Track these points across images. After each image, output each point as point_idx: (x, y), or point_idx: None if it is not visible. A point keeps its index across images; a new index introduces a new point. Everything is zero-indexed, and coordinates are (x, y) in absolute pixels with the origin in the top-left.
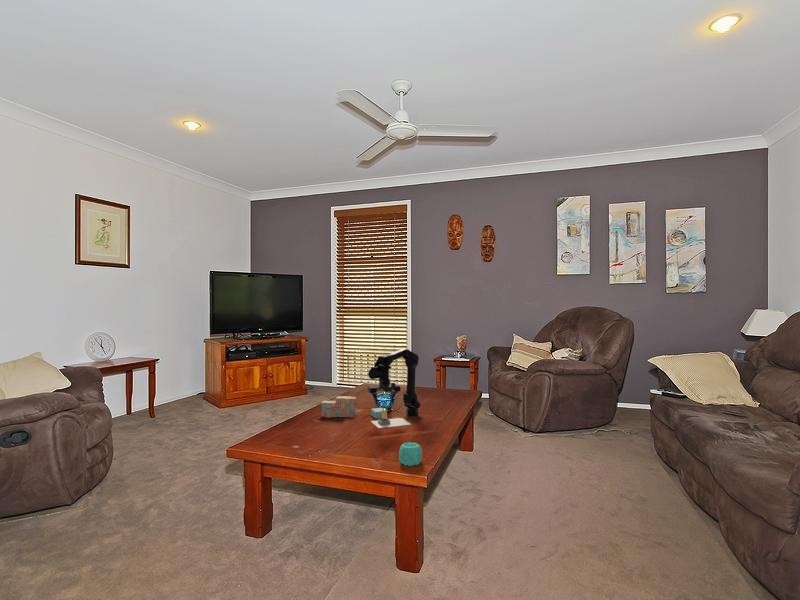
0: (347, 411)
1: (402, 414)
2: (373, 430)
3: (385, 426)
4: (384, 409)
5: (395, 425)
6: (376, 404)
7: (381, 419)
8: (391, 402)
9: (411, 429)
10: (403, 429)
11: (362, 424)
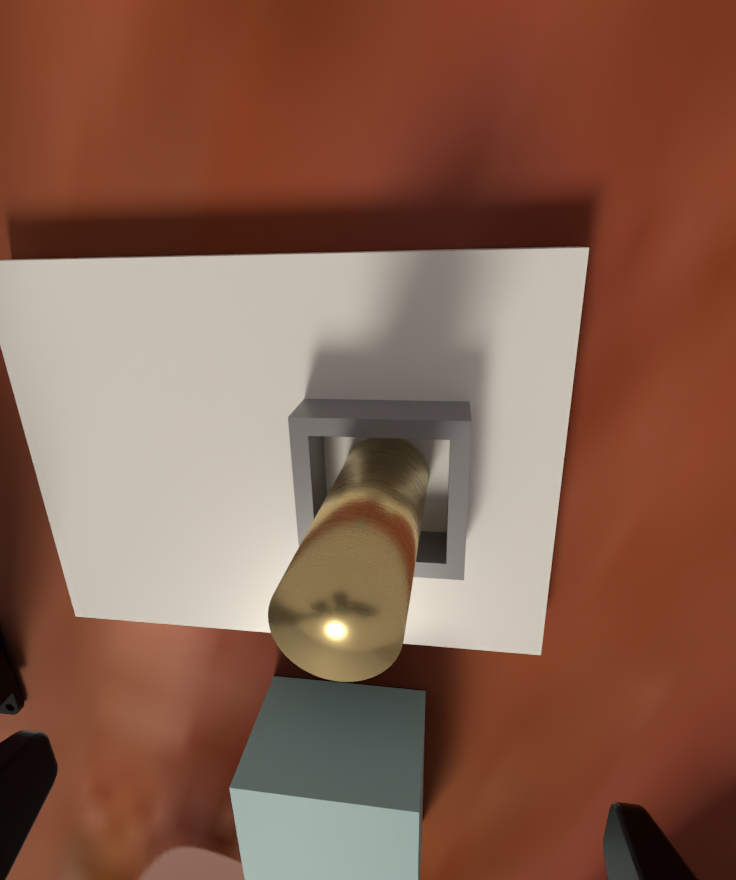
0: None
1: None
2: (652, 293)
3: (427, 294)
4: (333, 638)
5: (242, 290)
6: (644, 810)
7: None
8: (22, 756)
9: (23, 113)
10: (149, 163)
11: (657, 641)
